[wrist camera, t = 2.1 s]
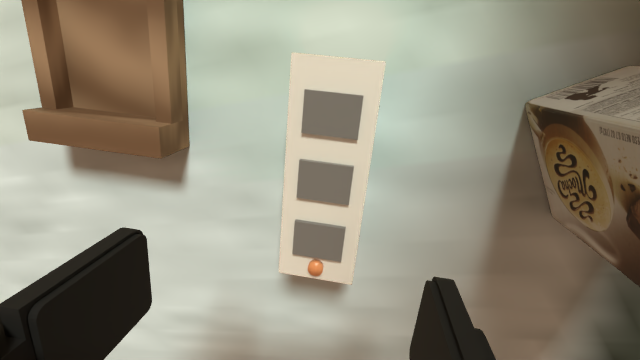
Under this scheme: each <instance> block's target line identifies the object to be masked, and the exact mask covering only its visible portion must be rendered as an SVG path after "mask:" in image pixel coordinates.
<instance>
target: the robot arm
mask: <svg viewBox="0 0 640 360" xmlns="http://www.w3.org/2000/svg"><path fill="white" fill-rule="evenodd" d="M151 303H152V295H151V284H150V272H149V260H148V249H147V239H146V236H145V235H143V233H142V231H140V230H137V229H130V228H120V229H118V230H117V231H115V232H113V233H112V234H110V235H109V236H107V237H106V238H104V239H102V240H101V241H99V242H98V243H96V244H94V245H93V246H91V247H90V248H88V249H86V250H85V251H83V252H82V253H80V254H78V255H77V256H75V257H74V258H72V259H71V260H69V261H67V262H66V263H64V264H63V265H61V266H59V267H58V268H56V269H55V270H53V271H51V272H50V273H48V274H47V275H45V276H44V277H42V278H40V279H39V280H37V281H36V282H34V283H32V284H31V285H29V286H28V287H26V288H24V289H23V290H21V291H20V292H18V293H16V294H15V295H13V296H12V297H10V298H9V299H7V300H5V301H4V302H2V303H1V304H0V360H104V359H105V358H106V356H107V355H108V354H109V353H110V352H111V351H112V350H113V349H114V348H115V347H116V346H117V344H118V343H119V342H120V341H121V340H122V339H123V338H124V337H125V336H126V335H127V334H128V332H129V331H130V330H131V329H132V328H133V327H134V326H135V325H136V324H137V323H138V322H139V320H140V319H141V318H142V317H143V316H144V315H145V314H146V313H147V312H148V310H149V309H150V306H151ZM410 360H496V359H495V357H494V354H493V352H492V350H491V348H490V346H489V343H488V341H487V339H486V337H485V335H484V333H483V331H481V330H480V329H476V328H474V327H473V324H472V322H471V320H470V317H469V315H468V313H467V310H466V308H465V305H464V303H463V301H462V298H461V296H460V294H459V291H458V289H457V287H456V284H455V282H454V280H451V279H445V278H439V277H433V279H432V281H428V280H427V281H426V283H425V287H424V291H423V295H422V299H421V304H420V308H419V312H418V316H417V320H416V325H415V329H414V333H413V337H412V341H411V346H410Z"/></svg>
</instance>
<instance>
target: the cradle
mask: <svg viewBox="0 0 640 360" xmlns="http://www.w3.org/2000/svg"><path fill="white" fill-rule="evenodd" d="M21 1H22V6H23V11H24V16H25V22H26V27H27V32H28V37H29V42H30V47H31V52H32V57H33V63H34V68H35V73H36V78H37V83H38V88H39V93H40V98H41V104H42V108H35V109H27V110H23V115H24V120H25V124H26V129H27V134H28V138H29V140H30V141H38V142H45V143H52V144H59V145H67V146H74V147H81V148H88V149H96V150H103V151H110V152H117V153H125V154H132V155H139V156H146V157H153V158H164V157H166V156H168V155H171V154H173V153H175V152H177V151H180V150H182V149H184V148H186V147H189V126H188V104H187V81H186V59H185V37H184V14H183V0H21Z"/></svg>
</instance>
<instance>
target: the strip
mask: <svg viewBox="0 0 640 360" xmlns="http://www.w3.org/2000/svg"><path fill="white" fill-rule="evenodd" d="M385 64H386V62H385V61H374V60H364V59H354V58H344V57H333V56H323V55H313V54H302V53H292V54H291V71H290V88H289V105H288V122H287V139H286V156H285V173H284V190H283V207H282V224H281V241H280V258H279V273H285V274H291V275H297V276H303V277H309V278H315V279H321V280H326V281H332V282H338V283H344V284H350V285H352V280H353V273H354V267H355V260H356V254H357V247H358V241H359V234H360V228H361V221H362V214H363V208H364V201H365V195H366V188H367V182H368V175H369V169H370V162H371V155H372V149H373V142H374V136H375V129H376V123H377V116H378V110H379V103H380V97H381V90H382V83H383V77H384V70H385Z"/></svg>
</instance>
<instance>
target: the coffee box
mask: <svg viewBox="0 0 640 360" xmlns="http://www.w3.org/2000/svg"><path fill="white" fill-rule="evenodd" d="M525 107H526V112H527V116H528V120H529V124H530V128H531V133H532V137H533V141H534V145H535V149H536V153H537V157H538V161H539V165H540V169H541V173H542V177H543V181H544V185H545V189H546V193H547V197H548V201H549V205H550V209H551V214H552V217H553V218H554V219H556V220H557V221H558V222H559V223H561V224H562V225H563V226H565V227H566V228H567V229H568V230H570V231H571V232H572V233H573V234H575V235H576V236H577V237H578V238H580V239H581V240H582V241H583V242H585V243H586V244H587V245H588V246H590V247H591V248H592V249H593V250H595V251H596V252H597V253H598V254H600V255H601V256H602V257H604V258H605V259H606V260H607V261H608V262H610V263H611V264H612V265H613V266H615V267H616V268H617V269H618V270H620V271H621V272H622V273H623V274H624V275H626V276H627V277H628V278H629V279H630V280H632V281H633V282H634V283H635V284H637V285H638V286H639V287H640V66H627V67H623V68H621V69H618V70H615V71H612V72H609V73H606V74H603V75H601V76H598V77H595V78H592V79H589V80H586V81H583V82H580V83H577V84H575V85H572V86H569V87H566V88H563V89H560V90H558V91H555V92H552V93H549V94H546V95H544V96H541V97H538V98H535V99H532V100H530V101H528V102H527V103H526V105H525Z"/></svg>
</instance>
